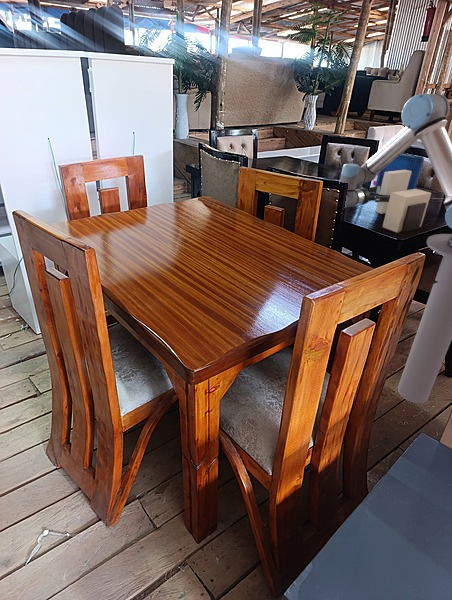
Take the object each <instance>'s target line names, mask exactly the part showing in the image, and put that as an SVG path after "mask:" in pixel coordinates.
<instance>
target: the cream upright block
mask: <svg viewBox="0 0 452 600" xmlns="http://www.w3.org/2000/svg"><path fill="white" fill-rule="evenodd" d="M431 195H432V192H430V191H425V190H422V189H418V188H415V189H411V190H405V191H399V192H392V193H391V195H390V199H389V203H388V207H387V211H386V213H385V215H384V219H383V223H382V228H384V229H386V230H389V231H392V232H394V233H406V232H409V231H414V230H419V229H420V228H421V227H422V225H423V222H424V220H425V219H424V218H425V216H426V212H427V210H428V209H427V208H428V206H429V201H430V199H431Z"/></svg>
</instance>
